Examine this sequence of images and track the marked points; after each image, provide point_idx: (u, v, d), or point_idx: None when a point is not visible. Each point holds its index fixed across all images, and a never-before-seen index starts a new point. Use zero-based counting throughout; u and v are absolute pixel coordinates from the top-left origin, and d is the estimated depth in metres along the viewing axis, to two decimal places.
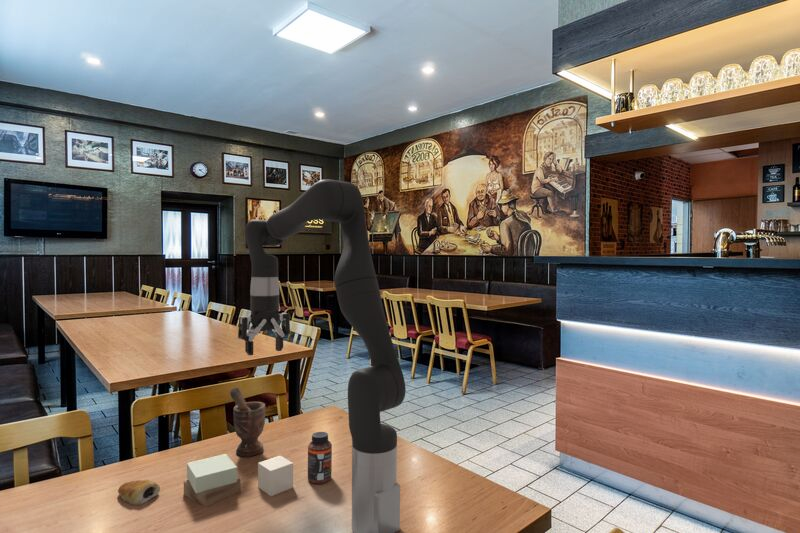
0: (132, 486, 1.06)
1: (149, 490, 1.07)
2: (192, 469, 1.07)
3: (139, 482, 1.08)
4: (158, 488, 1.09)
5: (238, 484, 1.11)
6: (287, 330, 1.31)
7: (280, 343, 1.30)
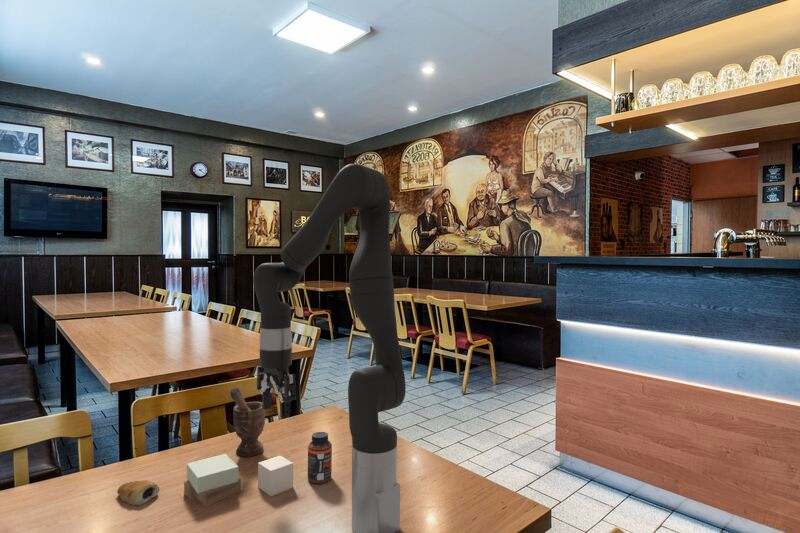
0: (131, 487, 1.06)
1: (148, 491, 1.06)
2: (193, 469, 1.07)
3: (138, 483, 1.07)
4: (157, 488, 1.08)
5: (238, 483, 1.11)
6: None
7: None
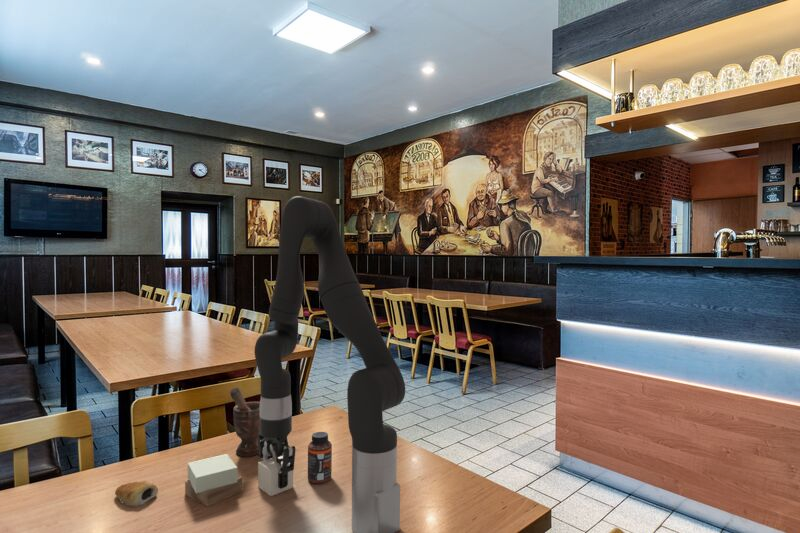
0: (130, 488, 1.06)
1: (147, 491, 1.06)
2: (192, 469, 1.07)
3: (137, 484, 1.07)
4: (156, 489, 1.08)
5: (239, 483, 1.11)
6: None
7: None
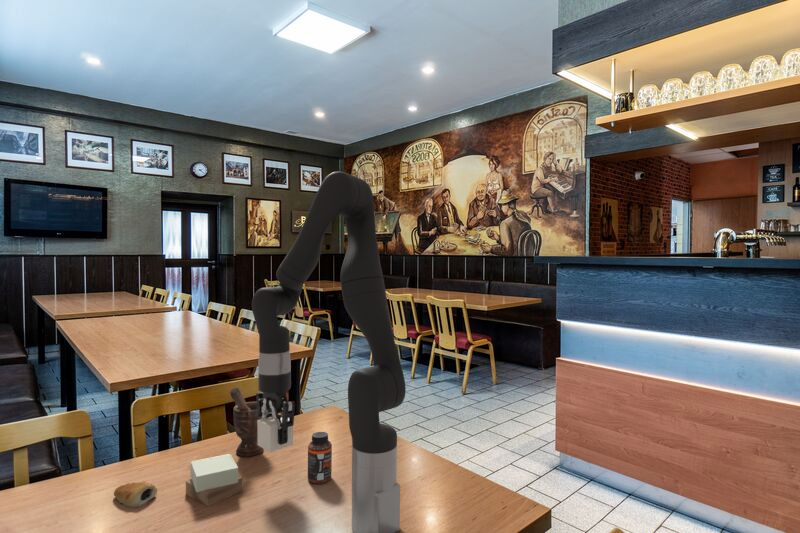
0: (129, 488, 1.05)
1: (146, 492, 1.06)
2: (194, 468, 1.08)
3: (136, 484, 1.07)
4: (155, 490, 1.08)
5: (240, 483, 1.11)
6: None
7: None
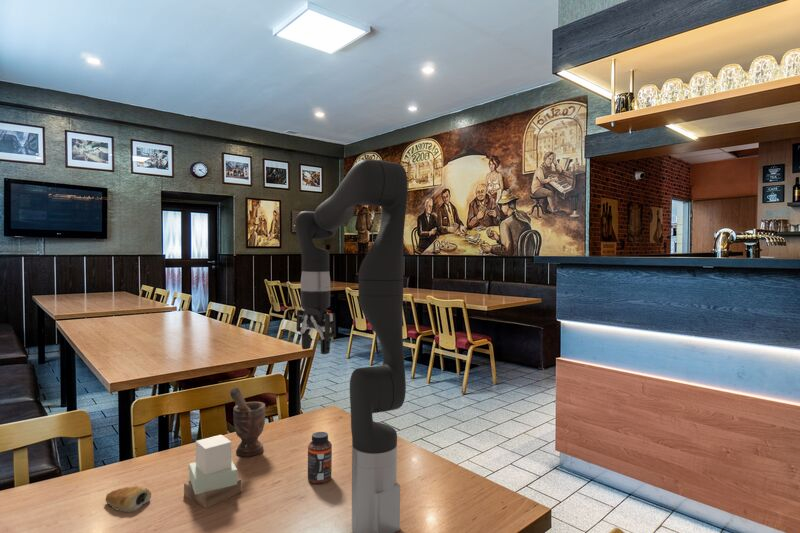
0: (123, 493, 1.03)
1: (141, 496, 1.04)
2: (193, 470, 1.07)
3: (129, 489, 1.04)
4: (150, 494, 1.06)
5: (238, 485, 1.10)
6: None
7: None
